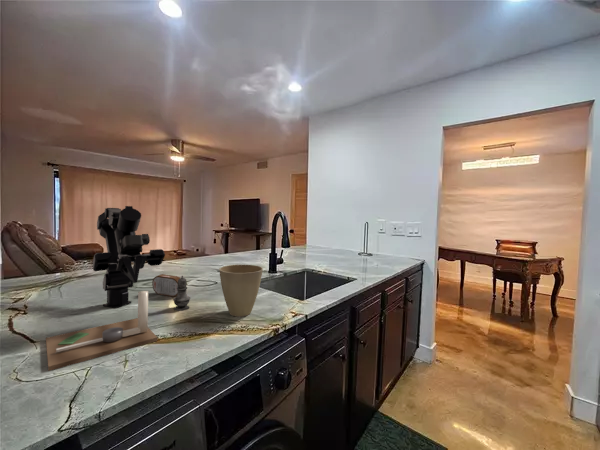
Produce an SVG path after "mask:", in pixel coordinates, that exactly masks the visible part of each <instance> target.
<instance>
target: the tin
mask: <svg viewBox="0 0 600 450" xmlns="http://www.w3.org/2000/svg"><path fill="white" fill-rule="evenodd" d="M180 278H181V277H180V276H177V275H171V274H164V273H162V274H159V275H155V277H154V278H153V279H152V281H151V284H152V289H153V291H154V293H155V294H157V295H160V296H166V297H170V298H175V297H177V293H178V290H177V288H178V280H179V279H180Z"/></svg>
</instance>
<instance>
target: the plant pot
mask: <svg viewBox="0 0 600 450" xmlns="http://www.w3.org/2000/svg"><path fill="white" fill-rule="evenodd" d="M263 270H264V269H263V267H262V266H259V265H254V264H230V265H228V264H227V265H225V266H224V265H223V266H221V267H220V268H219V278H220V285H221V290H222V293H223V298H224V302H225V304H226V308H227V310H228V313H229V314H230V316H231V317H238V318H239V317H246V316H248V315H250V314H252V310H253V308H254V306H255V303H256V300H257V297H258V293H259V291H260V290H259V289H260V286H261V282H262V276H263Z"/></svg>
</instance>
